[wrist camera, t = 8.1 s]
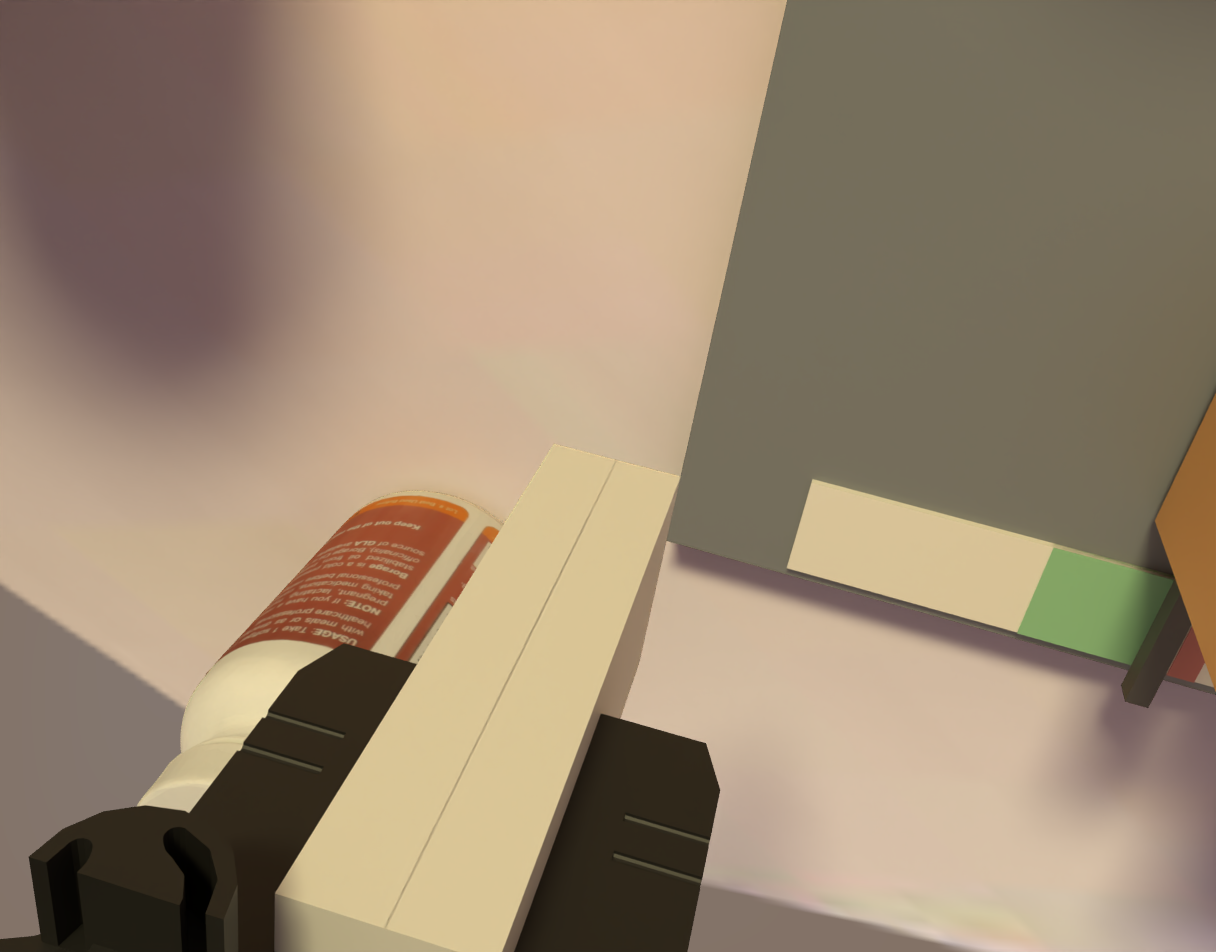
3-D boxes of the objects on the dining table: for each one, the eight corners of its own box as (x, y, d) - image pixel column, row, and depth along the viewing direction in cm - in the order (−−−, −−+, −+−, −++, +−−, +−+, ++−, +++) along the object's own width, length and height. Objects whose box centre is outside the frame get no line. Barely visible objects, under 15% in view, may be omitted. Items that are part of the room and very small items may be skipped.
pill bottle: (314, 595, 33) (61, 877, 23) (389, 440, 30) (133, 693, 20) (493, 704, 33) (314, 1029, 24) (587, 562, 30) (424, 870, 20)
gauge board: (675, 518, 29) (573, 760, 20) (811, -84, 22) (739, -77, 14) (1465, 736, 26) (1706, 1115, 18) (1905, 125, 19) (2626, 289, 11)
